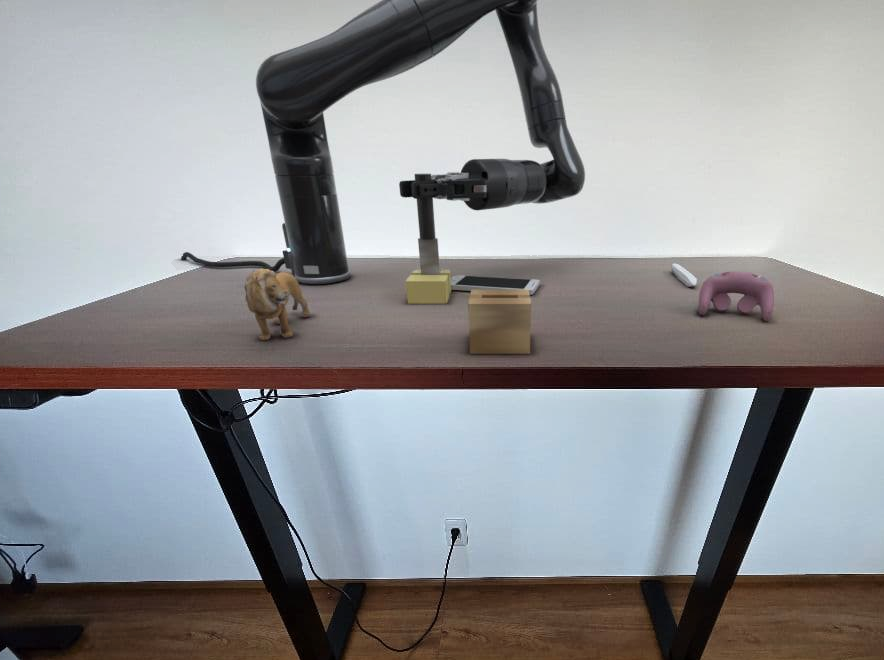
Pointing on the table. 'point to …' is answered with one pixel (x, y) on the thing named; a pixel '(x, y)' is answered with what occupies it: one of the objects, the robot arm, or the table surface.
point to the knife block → (499, 321)
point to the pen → (684, 275)
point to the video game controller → (737, 282)
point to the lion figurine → (273, 299)
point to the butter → (428, 288)
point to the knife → (427, 233)
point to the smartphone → (493, 283)
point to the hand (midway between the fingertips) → (407, 189)
